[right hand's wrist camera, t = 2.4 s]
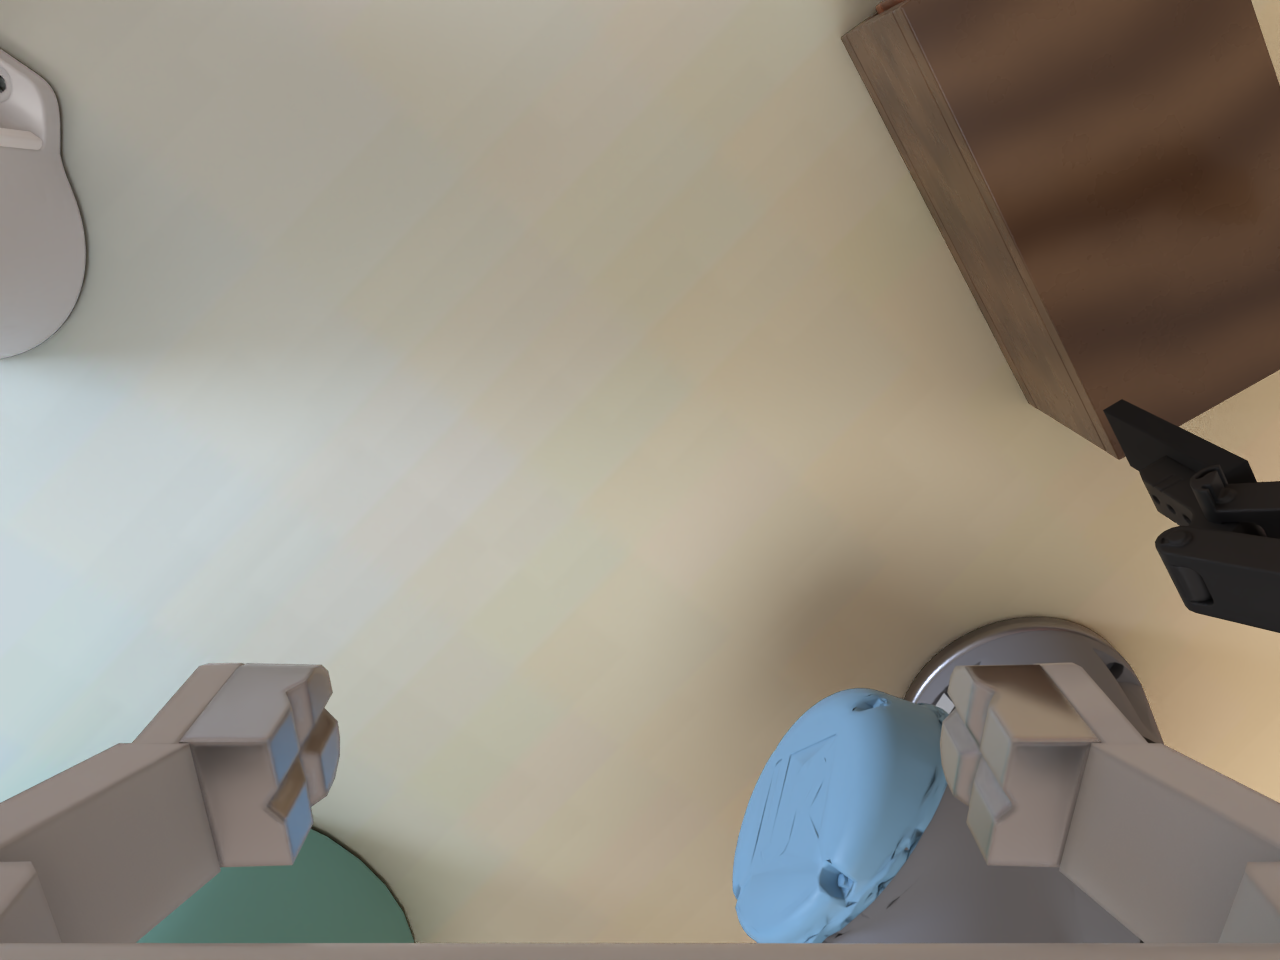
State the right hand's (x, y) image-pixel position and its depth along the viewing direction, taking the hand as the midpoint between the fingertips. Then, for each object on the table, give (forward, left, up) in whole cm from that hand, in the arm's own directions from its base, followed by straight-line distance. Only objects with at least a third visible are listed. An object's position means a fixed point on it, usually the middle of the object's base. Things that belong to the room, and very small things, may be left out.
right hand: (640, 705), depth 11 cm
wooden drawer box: (+10, +19, -35) cm, 41 cm away
